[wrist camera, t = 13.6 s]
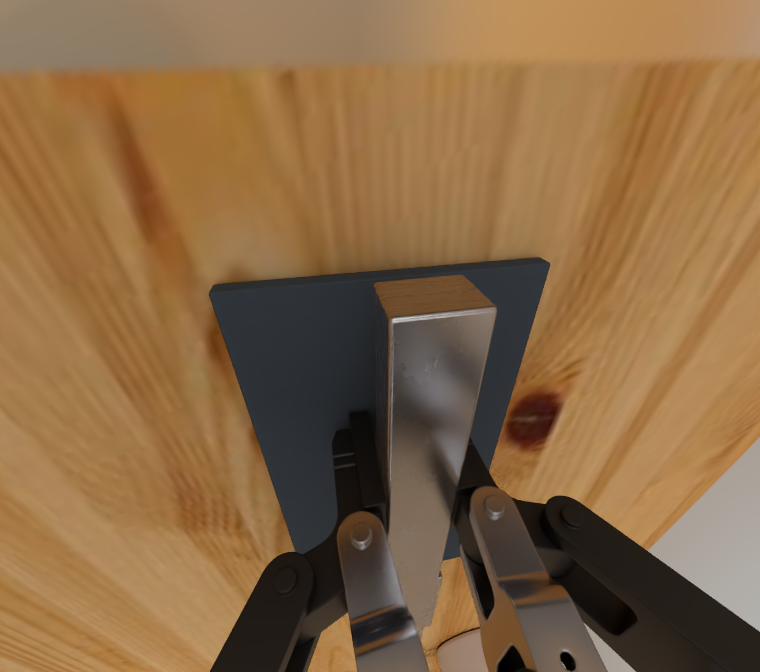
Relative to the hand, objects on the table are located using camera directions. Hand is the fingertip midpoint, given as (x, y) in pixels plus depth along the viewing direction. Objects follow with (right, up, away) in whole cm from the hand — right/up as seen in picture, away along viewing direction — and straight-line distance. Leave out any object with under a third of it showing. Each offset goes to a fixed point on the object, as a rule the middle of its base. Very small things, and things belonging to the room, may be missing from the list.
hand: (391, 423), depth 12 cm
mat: (0, -3, +3) cm, 4 cm away
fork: (+1, -5, +1) cm, 5 cm away
